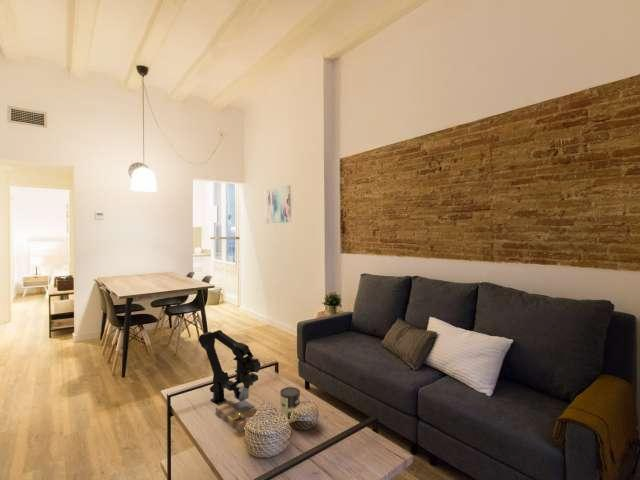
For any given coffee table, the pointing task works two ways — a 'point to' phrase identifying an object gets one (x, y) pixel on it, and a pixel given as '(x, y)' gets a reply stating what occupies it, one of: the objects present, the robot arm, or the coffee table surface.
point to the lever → (235, 416)
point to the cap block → (243, 393)
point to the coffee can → (289, 400)
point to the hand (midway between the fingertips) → (241, 396)
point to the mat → (242, 406)
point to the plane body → (223, 413)
